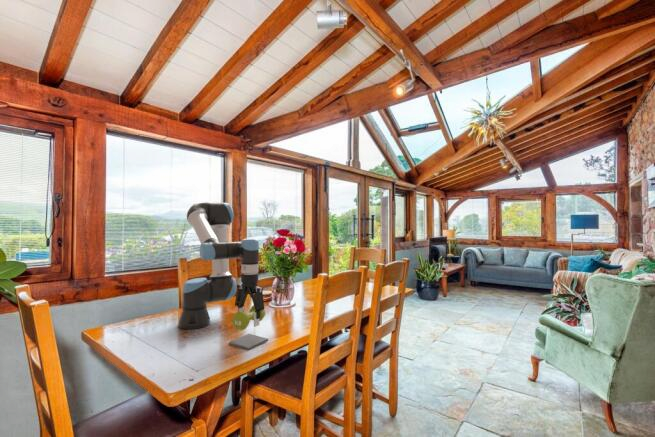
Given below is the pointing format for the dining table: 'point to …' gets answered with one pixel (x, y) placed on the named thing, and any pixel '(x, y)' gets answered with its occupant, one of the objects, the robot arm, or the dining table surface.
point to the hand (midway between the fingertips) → (249, 323)
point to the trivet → (248, 341)
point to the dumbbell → (245, 318)
